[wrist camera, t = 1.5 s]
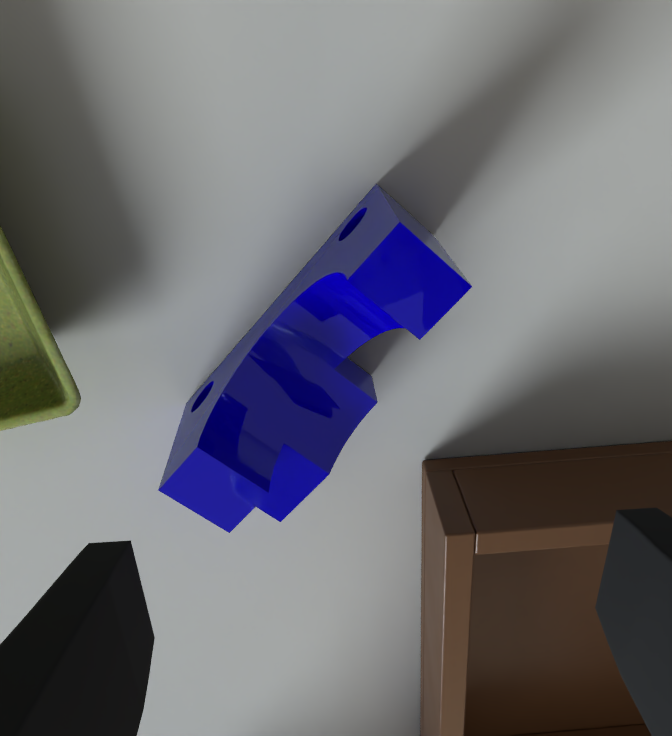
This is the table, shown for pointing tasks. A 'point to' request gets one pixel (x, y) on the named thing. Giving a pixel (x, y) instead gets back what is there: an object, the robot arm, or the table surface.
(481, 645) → the tray
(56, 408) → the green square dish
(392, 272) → the cable holder
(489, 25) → the table surface
